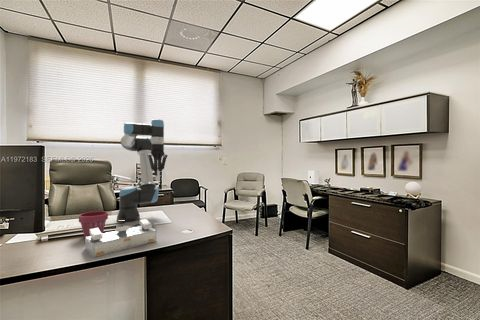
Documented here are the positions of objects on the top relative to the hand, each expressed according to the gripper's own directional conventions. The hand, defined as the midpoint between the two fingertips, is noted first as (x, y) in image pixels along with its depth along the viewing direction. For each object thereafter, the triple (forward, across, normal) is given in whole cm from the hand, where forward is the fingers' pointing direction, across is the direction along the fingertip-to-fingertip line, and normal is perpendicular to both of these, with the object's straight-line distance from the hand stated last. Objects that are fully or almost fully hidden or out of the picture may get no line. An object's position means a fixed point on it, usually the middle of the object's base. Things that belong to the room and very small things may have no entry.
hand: (157, 180), depth 150 cm
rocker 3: (+22, -14, -15) cm, 30 cm away
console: (+30, -26, -15) cm, 43 cm away
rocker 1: (+22, -38, -15) cm, 46 cm away
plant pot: (+31, -33, +12) cm, 47 cm away
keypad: (+31, -10, +4) cm, 33 cm away
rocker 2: (+22, -26, -15) cm, 37 cm away
